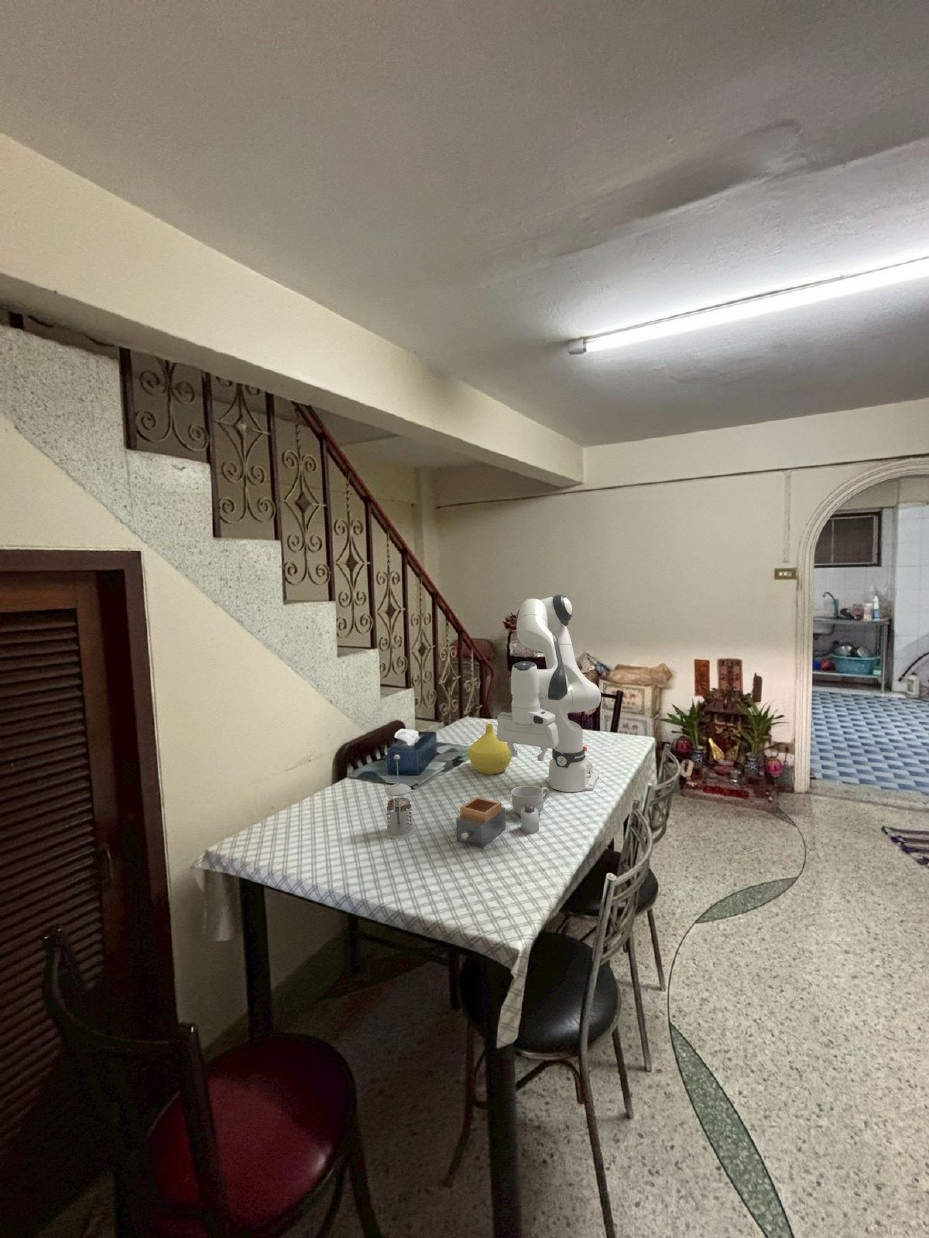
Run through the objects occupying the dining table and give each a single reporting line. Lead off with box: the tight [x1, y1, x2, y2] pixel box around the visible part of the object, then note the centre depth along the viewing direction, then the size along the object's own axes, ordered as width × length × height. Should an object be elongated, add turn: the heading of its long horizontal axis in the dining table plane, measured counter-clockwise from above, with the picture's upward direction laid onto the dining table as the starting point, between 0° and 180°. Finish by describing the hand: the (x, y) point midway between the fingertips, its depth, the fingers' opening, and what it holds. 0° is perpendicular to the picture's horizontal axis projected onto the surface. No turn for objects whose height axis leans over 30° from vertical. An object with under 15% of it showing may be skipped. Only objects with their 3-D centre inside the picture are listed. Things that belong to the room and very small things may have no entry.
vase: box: [467, 723, 513, 775], centre depth 222 cm, size 18×18×19 cm
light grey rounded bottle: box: [520, 804, 540, 834], centre depth 170 cm, size 6×6×8 cm
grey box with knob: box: [455, 796, 507, 849], centre depth 166 cm, size 17×9×10 cm, turn 146°
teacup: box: [510, 785, 550, 817], centre depth 182 cm, size 14×11×8 cm
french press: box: [384, 754, 416, 840], centre depth 169 cm, size 10×12×25 cm
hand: (527, 758), depth 169 cm, fingers open, 8 cm apart
